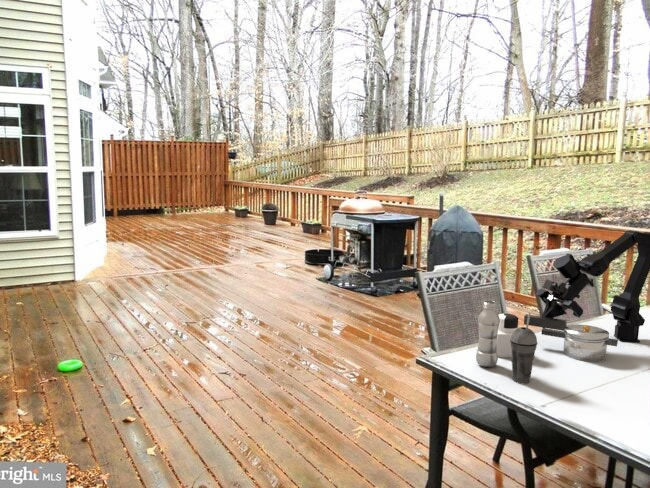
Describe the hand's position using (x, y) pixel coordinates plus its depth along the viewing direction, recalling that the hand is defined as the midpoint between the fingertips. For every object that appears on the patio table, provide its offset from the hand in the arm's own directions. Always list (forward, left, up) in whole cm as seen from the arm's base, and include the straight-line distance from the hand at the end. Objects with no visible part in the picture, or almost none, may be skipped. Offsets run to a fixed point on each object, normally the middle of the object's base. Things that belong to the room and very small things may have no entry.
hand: (542, 320), depth 175 cm
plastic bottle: (+21, +22, -9) cm, 32 cm away
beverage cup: (+13, +32, -9) cm, 36 cm away
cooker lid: (-6, +5, -2) cm, 8 cm away
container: (+13, +10, -9) cm, 19 cm away
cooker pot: (-10, +6, -9) cm, 15 cm away
